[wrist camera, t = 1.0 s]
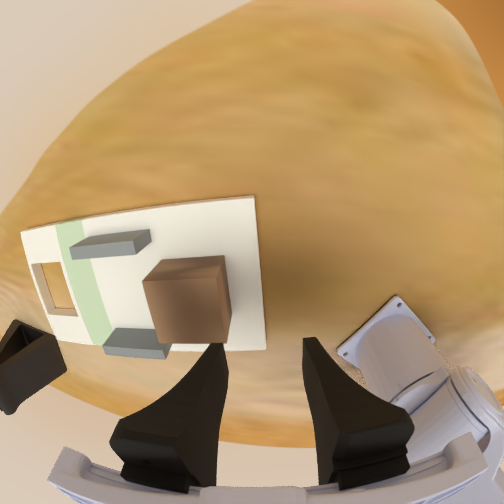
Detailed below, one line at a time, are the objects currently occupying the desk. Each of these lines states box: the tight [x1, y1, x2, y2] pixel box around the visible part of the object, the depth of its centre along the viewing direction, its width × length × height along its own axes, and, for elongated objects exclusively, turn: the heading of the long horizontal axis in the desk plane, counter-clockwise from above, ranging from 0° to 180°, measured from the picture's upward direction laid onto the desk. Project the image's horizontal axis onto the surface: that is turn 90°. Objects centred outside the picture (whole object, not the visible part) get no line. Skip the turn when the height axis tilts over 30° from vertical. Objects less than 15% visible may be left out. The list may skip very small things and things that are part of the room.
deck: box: [20, 195, 266, 360], centre depth 21 cm, size 24×13×4 cm, turn 95°
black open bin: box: [0, 319, 67, 415], centre depth 21 cm, size 9×6×12 cm, turn 83°
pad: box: [55, 216, 113, 346], centre depth 22 cm, size 4×13×2 cm, turn 5°
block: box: [142, 255, 232, 344], centre depth 19 cm, size 5×5×4 cm
